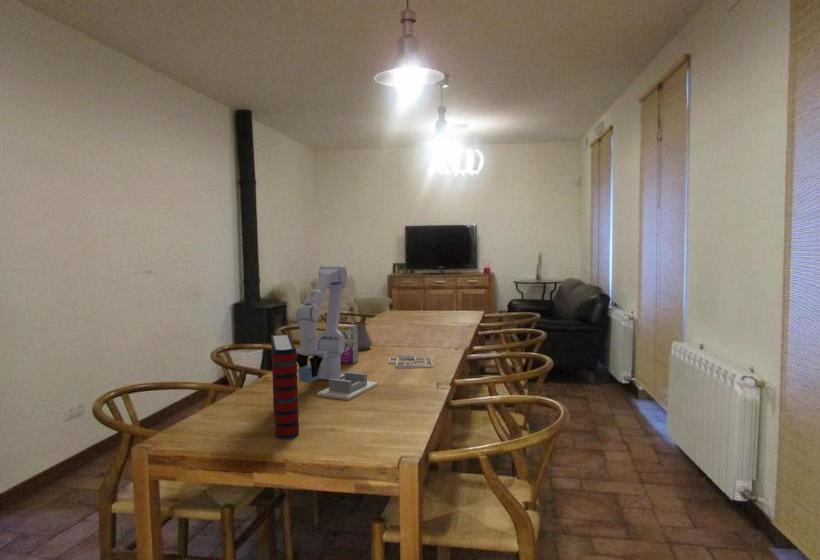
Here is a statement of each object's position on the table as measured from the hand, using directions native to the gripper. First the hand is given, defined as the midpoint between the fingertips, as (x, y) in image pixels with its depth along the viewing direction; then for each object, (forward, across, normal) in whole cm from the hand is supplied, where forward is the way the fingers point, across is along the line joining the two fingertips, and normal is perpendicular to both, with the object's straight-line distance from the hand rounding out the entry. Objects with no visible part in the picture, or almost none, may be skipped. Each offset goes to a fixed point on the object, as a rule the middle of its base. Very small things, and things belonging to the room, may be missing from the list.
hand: (309, 375), depth 191 cm
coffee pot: (+6, -19, +65) cm, 68 cm away
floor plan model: (+6, +12, +51) cm, 53 cm away
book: (+6, +14, -31) cm, 35 cm away
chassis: (+6, +12, +6) cm, 15 cm away
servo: (+2, 0, 0) cm, 2 cm away
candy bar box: (+6, -13, +43) cm, 45 cm away
